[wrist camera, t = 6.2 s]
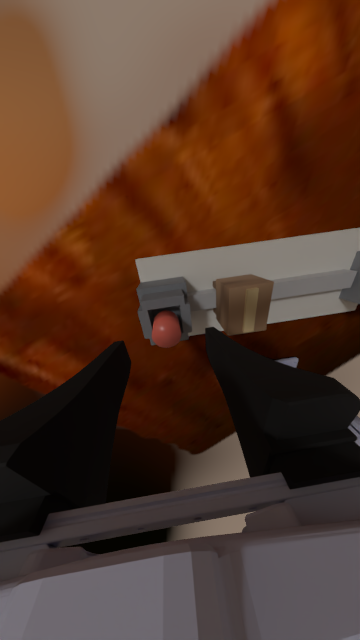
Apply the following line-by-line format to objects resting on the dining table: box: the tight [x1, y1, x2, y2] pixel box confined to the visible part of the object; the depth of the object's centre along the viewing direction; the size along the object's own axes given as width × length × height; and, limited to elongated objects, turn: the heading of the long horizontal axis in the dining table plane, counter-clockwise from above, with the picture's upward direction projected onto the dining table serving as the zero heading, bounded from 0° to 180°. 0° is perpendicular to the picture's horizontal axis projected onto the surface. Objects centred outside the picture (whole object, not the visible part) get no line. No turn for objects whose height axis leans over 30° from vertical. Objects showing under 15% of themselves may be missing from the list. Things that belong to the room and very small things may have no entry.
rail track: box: [135, 228, 360, 345], centre depth 17 cm, size 11×30×6 cm, turn 97°
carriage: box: [213, 274, 274, 336], centre depth 16 cm, size 5×4×6 cm
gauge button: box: [152, 311, 181, 348], centre depth 13 cm, size 2×2×2 cm
